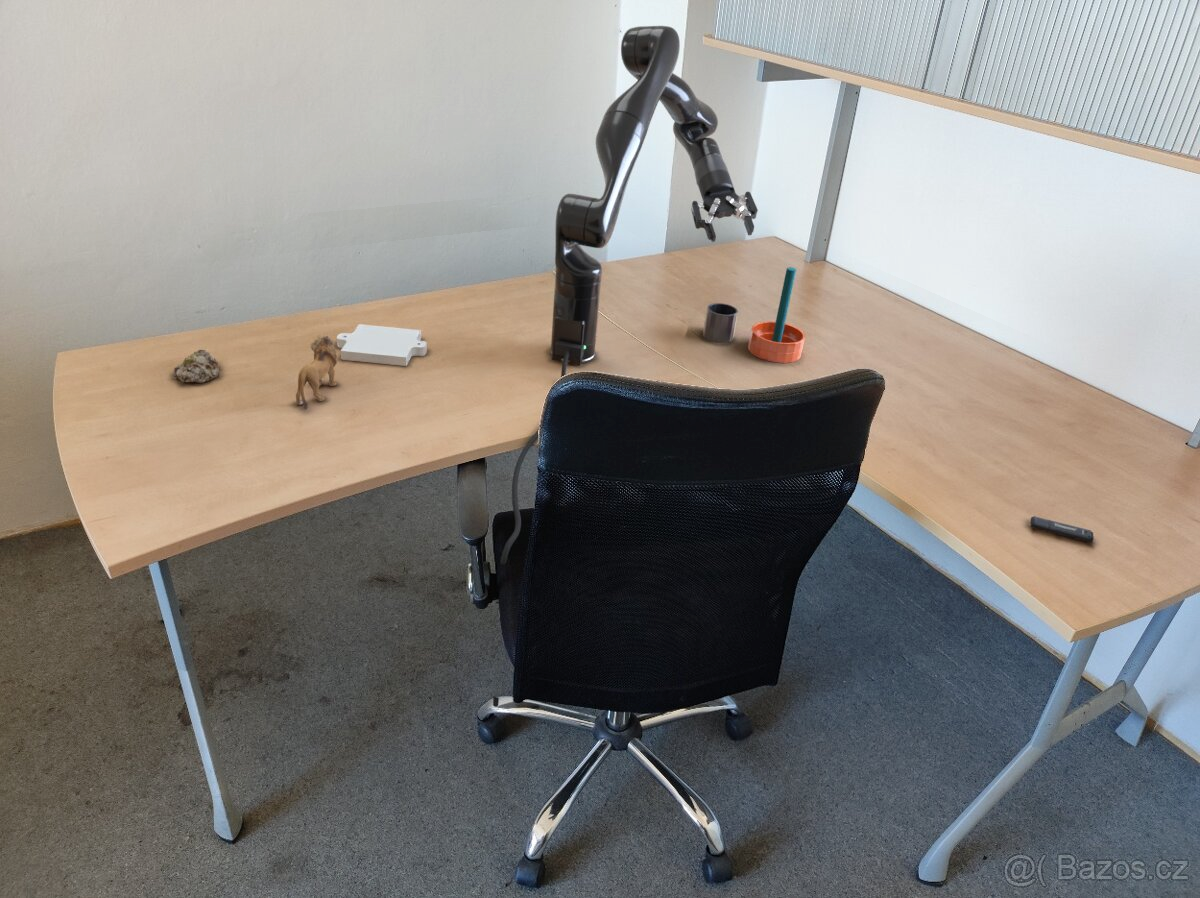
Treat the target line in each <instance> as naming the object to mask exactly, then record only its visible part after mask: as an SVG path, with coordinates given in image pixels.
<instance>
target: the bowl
mask: <svg viewBox="0 0 1200 898" xmlns="http://www.w3.org/2000/svg"><path fill="white" fill-rule="evenodd" d="M775 323H776V321H772V320H771V321H770V320H767V321H759V322H756V323H754V324H753V325H752V326H751V330H750V333H749V339H748V344H747V349H748V351H749V352H750V353H751V354H752V355H753V356H755V357H757V358H758V359H760V360H764V361H768V362H772V363H779V364H780V363H781V364H786V363H794V362H796V361H798V360H799V359H801V356H802V351H803V348H804V344H805V339H806V334H805V333H804V332H803V331H802V330H801V329H800V328H798V327H796V326H794V325H791V324H789V323H786V322H785V326H784V330H783V335H782V340H781V343H779V342H774V341H772V338H773V333H774V328H775Z"/></svg>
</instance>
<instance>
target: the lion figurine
mask: <svg viewBox="0 0 1200 898" xmlns="http://www.w3.org/2000/svg"><path fill="white" fill-rule="evenodd" d="M309 347H310V349H311V351H313V361H312V362H311V363H310V364H307V365H304V366H302V368H301V369H300V370H299V373H298V378H297V390H296V394H295V404H296V406H301V405H303V409H304V410H307V409H308V403H307V401H306V398H305V386H306V385H307V384H308V385H309V386H310V387H311V389H312V392H313V393H312V394H313V395H312V396H313V397H314V398H315V399H316V400H317V401H318V402H323V401H325V397H324V396H323V395H320V393H319V392H320V391H319V390H320V386H322V385H323V381H322V379H324V378H326V376H327V375H328V379H329V380H328V384H329V386H331V387H335V386H337V383H336V382H335V375H336V371H335V367H336V365H337V363H338V361H337V359H338V355H337V351H336V346H335V342H334V340H332V338H331V337H329V336H328V335H326V334H319V335H317V336H316V338H315V339H314V340H313V342H312V343H310V344H309Z"/></svg>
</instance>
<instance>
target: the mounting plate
mask: <svg viewBox="0 0 1200 898" xmlns="http://www.w3.org/2000/svg"><path fill="white" fill-rule="evenodd" d="M421 339H422V330H421V329H414V328H413V329H411V328H404V327H403V328H402V327H392V326H381V325H372V324H371V325H370V324H361V323H359V324H358V325H357V326H356V328H355V329H354V331H353V332H351V333H350V332H349V333H348V332H342V333H339V334H337V336H336V344H337V348H339V349H340V360H343V361H353V362H361V363H362V362H363V363H373V364H382V365H393V366H400V367H401V366H403V367H408V364H409V362H410V360H411V359H412V357H415V356H417V357H423V356H426V355H427V353H428V342H426V341H424V340H421Z"/></svg>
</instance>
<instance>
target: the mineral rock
mask: <svg viewBox="0 0 1200 898" xmlns="http://www.w3.org/2000/svg"><path fill="white" fill-rule="evenodd" d="M219 374H220V366H219V364H218V361H217V359H216V358H215V357H213V355H211V352H209V351H206V349H198V350H196V351H194V352H193V353H192V354H190V355H188V356H187V357H185V358H184V360H183V361H182V363H181V364H178V365H176V366H175V367H173V375H174V379H175V380H179V381H181V382H182V383H197V384H202V383H205V382H208V381H210V380H212V379H215V378H217V377H218V376H219Z"/></svg>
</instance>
